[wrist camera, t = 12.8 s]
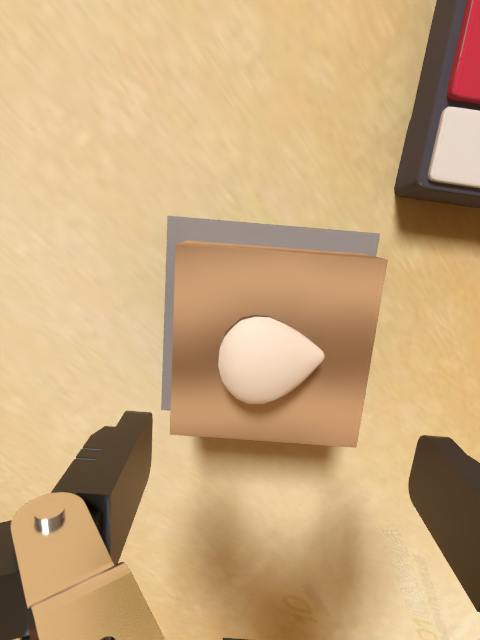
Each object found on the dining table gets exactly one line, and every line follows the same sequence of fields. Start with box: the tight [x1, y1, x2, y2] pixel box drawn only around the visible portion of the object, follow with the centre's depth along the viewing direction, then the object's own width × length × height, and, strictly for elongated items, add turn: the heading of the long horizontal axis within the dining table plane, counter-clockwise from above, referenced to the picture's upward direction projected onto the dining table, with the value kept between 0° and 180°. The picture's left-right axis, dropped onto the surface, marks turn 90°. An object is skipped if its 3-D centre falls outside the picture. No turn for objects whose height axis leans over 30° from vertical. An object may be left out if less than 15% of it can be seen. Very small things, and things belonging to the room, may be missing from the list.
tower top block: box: [170, 240, 388, 448], centre depth 21 cm, size 10×10×4 cm
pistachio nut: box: [218, 315, 325, 404], centre depth 18 cm, size 4×5×2 cm
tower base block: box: [161, 216, 380, 411], centre depth 25 cm, size 12×12×4 cm
